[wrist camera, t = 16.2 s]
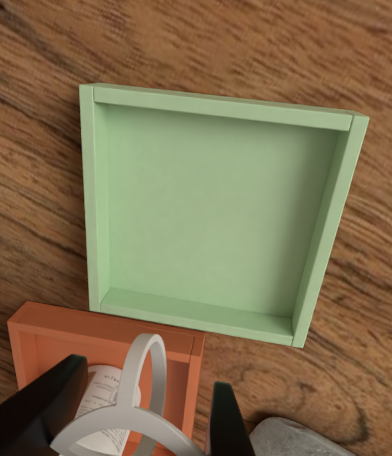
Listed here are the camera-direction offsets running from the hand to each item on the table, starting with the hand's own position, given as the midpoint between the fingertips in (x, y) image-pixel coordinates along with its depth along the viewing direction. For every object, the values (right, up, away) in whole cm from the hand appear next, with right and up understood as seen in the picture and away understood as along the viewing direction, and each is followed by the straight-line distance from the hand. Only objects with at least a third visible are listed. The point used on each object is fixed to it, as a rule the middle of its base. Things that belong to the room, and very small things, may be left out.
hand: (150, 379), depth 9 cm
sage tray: (+2, +5, +8) cm, 10 cm away
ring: (0, 0, +1) cm, 1 cm away
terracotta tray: (-4, -6, +14) cm, 16 cm away
